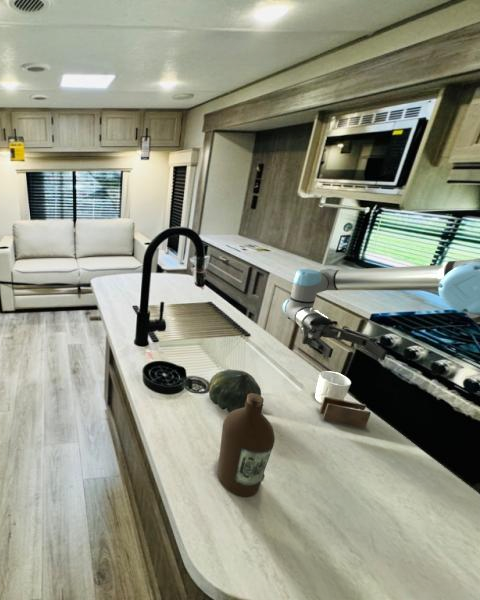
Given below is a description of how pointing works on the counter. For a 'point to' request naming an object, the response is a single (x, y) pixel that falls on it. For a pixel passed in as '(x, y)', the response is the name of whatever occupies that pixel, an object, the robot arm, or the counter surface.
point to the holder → (345, 412)
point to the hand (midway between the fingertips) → (357, 354)
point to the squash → (232, 389)
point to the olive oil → (245, 448)
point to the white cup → (332, 386)
